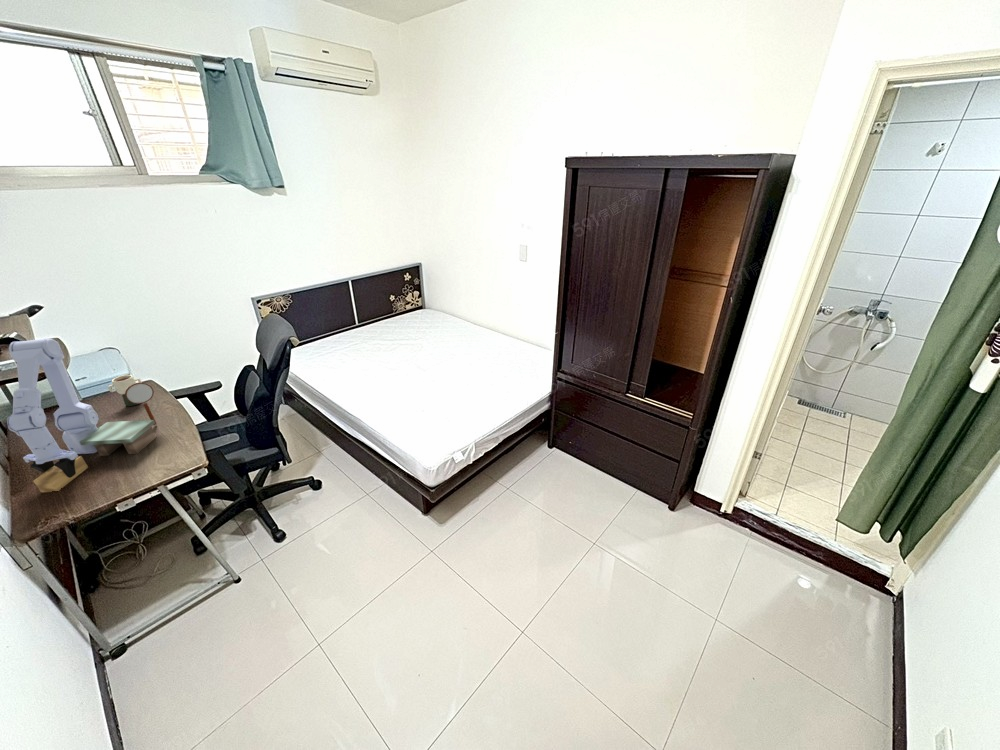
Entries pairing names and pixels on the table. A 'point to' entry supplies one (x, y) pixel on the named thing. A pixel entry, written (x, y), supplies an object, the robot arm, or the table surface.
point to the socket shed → (121, 436)
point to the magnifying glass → (140, 396)
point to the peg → (58, 477)
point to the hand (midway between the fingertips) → (63, 476)
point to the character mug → (123, 386)
